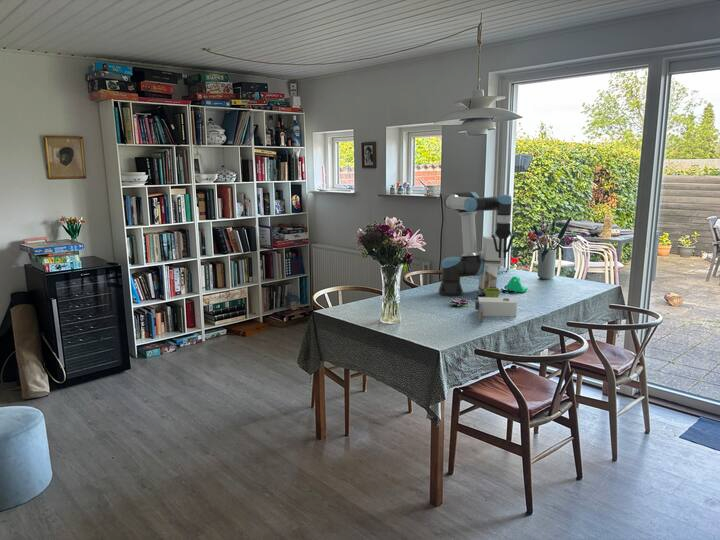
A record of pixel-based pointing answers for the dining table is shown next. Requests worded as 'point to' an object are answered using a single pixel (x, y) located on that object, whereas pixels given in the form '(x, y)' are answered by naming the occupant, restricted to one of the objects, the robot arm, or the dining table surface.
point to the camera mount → (515, 285)
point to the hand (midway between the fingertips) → (501, 263)
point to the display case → (489, 263)
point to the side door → (480, 313)
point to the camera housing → (497, 306)
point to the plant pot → (492, 292)
